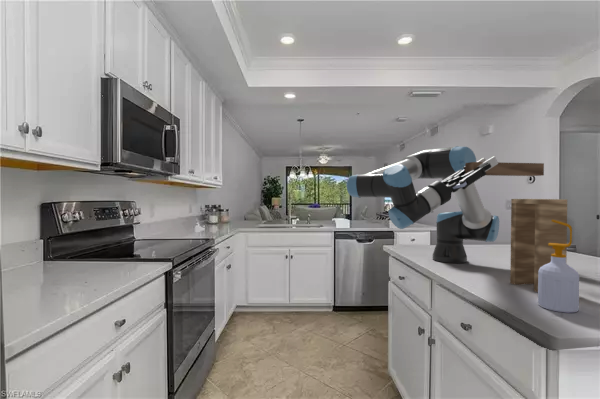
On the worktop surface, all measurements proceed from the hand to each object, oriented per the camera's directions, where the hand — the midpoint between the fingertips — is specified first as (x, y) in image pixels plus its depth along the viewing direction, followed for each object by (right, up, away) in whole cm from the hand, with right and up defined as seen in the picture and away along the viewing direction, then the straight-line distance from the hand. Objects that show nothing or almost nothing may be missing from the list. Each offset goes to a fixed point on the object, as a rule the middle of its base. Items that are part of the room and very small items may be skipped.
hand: (490, 160), depth 112 cm
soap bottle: (+9, -43, -17) cm, 47 cm away
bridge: (+18, -43, +4) cm, 46 cm away
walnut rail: (+5, -5, +1) cm, 7 cm away
